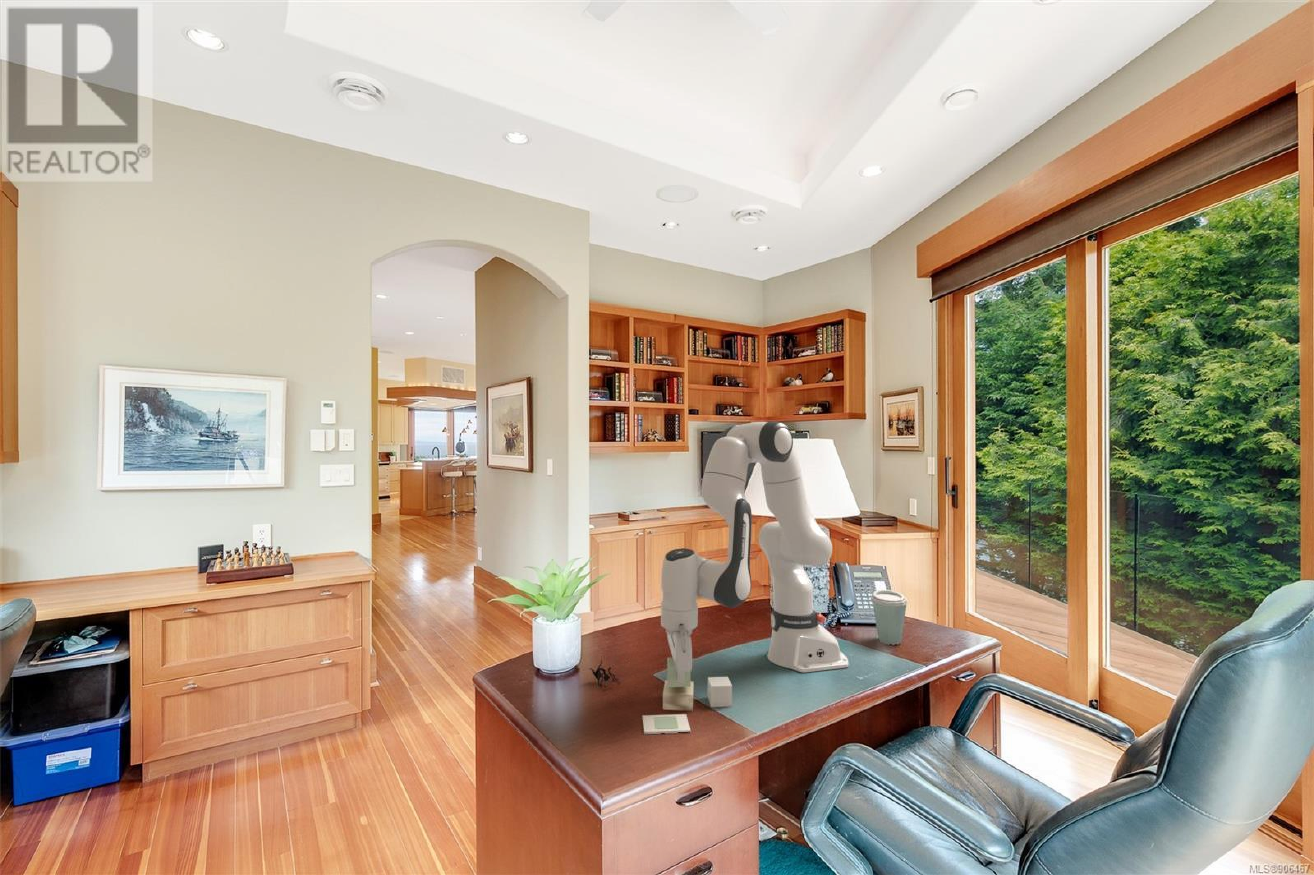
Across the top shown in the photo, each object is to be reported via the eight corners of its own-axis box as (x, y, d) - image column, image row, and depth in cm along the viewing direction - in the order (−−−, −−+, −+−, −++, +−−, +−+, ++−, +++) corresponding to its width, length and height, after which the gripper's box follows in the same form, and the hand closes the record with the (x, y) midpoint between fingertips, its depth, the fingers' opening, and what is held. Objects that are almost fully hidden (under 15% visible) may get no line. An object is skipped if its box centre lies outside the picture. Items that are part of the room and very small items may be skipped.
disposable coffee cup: (913, 648, 169) (913, 599, 169) (877, 647, 169) (878, 598, 169) (898, 635, 179) (899, 589, 179) (865, 635, 180) (865, 589, 180)
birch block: (693, 697, 136) (693, 681, 136) (692, 712, 129) (692, 694, 129) (665, 696, 137) (665, 680, 137) (662, 710, 130) (662, 693, 130)
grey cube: (727, 696, 136) (727, 676, 136) (732, 706, 131) (732, 685, 131) (707, 697, 136) (707, 677, 136) (711, 707, 131) (711, 686, 131)
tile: (686, 716, 126) (686, 713, 126) (690, 732, 119) (690, 730, 119) (642, 717, 126) (642, 715, 126) (644, 734, 119) (644, 731, 119)
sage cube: (687, 677, 135) (687, 657, 135) (690, 686, 130) (690, 665, 130) (667, 678, 135) (667, 657, 135) (669, 687, 130) (669, 666, 130)
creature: (625, 685, 145) (599, 672, 148) (629, 666, 144) (603, 654, 147) (610, 697, 138) (584, 684, 141) (615, 677, 137) (588, 665, 140)
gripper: (699, 633, 123) (698, 695, 123) (686, 605, 143) (686, 658, 143) (670, 633, 122) (670, 696, 122) (662, 605, 143) (662, 658, 143)
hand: (678, 675), depth 133 cm, fingers closed on sage cube, 5 cm apart
